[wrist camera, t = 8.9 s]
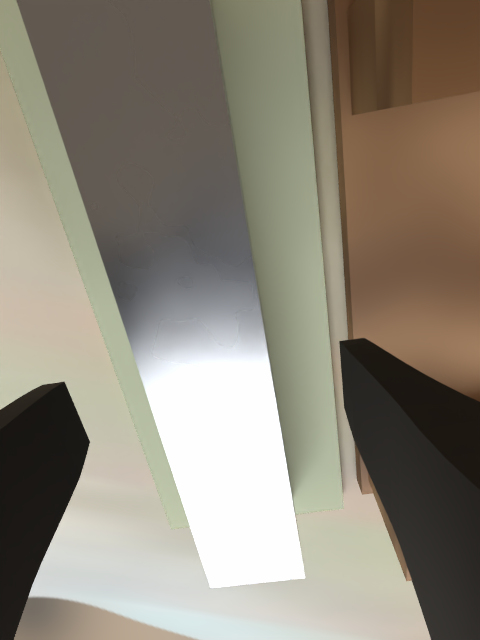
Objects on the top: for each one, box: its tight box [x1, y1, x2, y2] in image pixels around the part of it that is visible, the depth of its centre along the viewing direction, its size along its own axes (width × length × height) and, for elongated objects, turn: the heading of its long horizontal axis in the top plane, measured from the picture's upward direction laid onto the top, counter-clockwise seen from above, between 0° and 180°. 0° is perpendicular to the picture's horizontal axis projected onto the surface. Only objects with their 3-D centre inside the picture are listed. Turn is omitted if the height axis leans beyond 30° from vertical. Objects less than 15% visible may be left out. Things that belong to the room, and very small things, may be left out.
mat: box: [0, 0, 344, 529], centre depth 14 cm, size 20×8×1 cm, turn 10°
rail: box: [16, 0, 305, 588], centre depth 12 cm, size 18×4×4 cm, turn 10°
